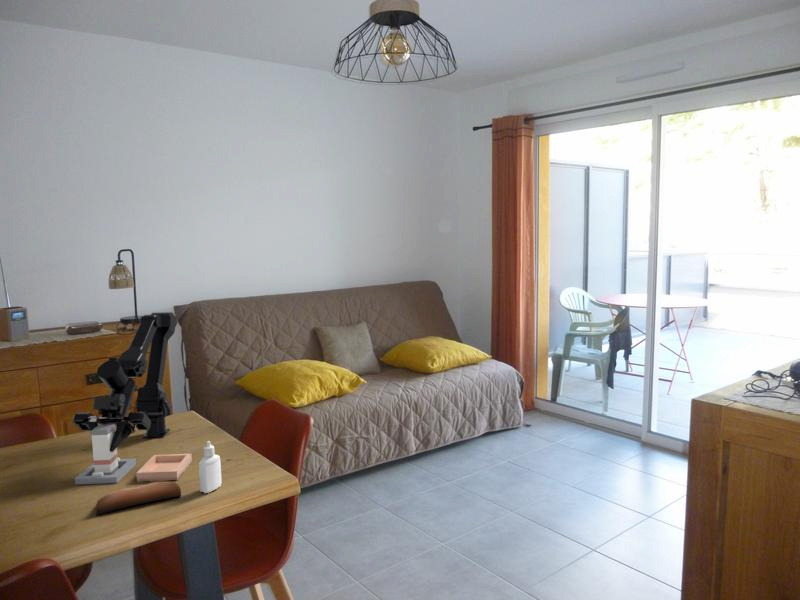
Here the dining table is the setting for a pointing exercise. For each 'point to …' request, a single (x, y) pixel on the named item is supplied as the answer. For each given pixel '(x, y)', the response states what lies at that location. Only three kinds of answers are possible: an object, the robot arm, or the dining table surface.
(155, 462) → the dish
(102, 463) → the white rectangular block
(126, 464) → the clip frame
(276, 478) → the dining table surface
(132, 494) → the sunglasses case
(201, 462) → the eye dropper bottle
